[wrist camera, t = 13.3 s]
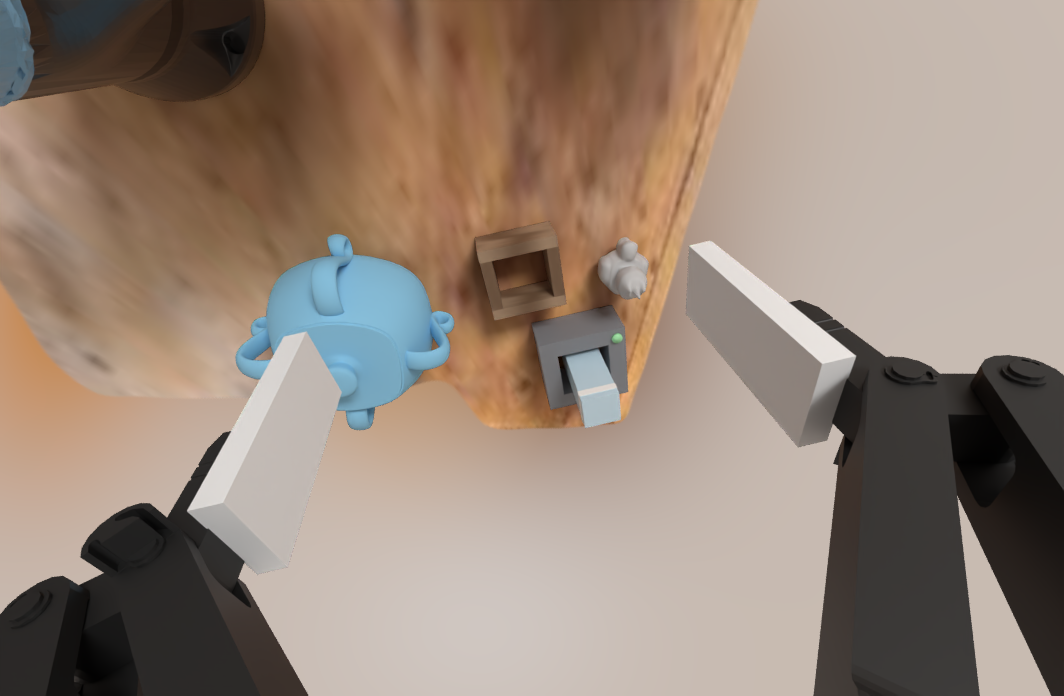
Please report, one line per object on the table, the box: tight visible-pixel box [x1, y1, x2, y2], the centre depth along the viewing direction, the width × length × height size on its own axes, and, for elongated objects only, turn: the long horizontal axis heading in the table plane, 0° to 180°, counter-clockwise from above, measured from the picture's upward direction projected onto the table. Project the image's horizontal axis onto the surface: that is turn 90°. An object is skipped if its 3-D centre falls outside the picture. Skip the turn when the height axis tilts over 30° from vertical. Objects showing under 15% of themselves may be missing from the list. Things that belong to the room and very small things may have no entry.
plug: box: [562, 348, 621, 428], centre depth 52 cm, size 4×4×12 cm
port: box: [532, 305, 628, 410], centre depth 54 cm, size 10×10×5 cm
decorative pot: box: [236, 234, 454, 430], centre depth 43 cm, size 16×16×14 cm
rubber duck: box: [598, 237, 649, 299], centre depth 47 cm, size 5×7×8 cm
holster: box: [475, 221, 567, 320], centre depth 47 cm, size 8×8×4 cm
